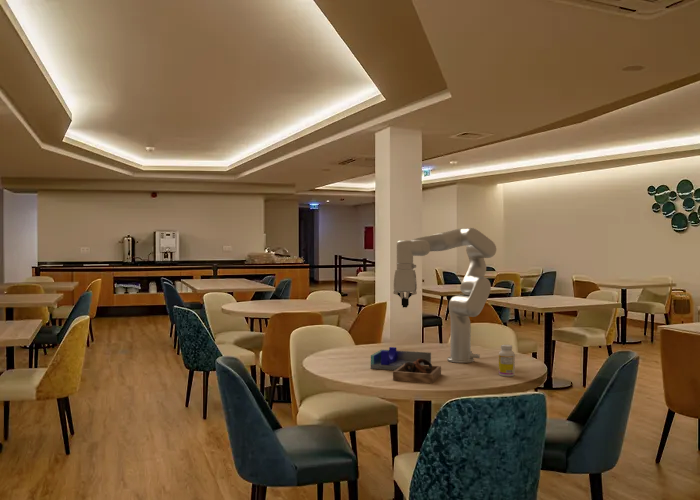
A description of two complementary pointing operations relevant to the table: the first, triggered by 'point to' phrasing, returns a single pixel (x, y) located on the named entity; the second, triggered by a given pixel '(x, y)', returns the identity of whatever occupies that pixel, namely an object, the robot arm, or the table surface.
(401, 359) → the grey teal tray
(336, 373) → the table surface
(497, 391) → the table surface
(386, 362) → the blue arch block
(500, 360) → the supplement bottle
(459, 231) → the robot arm
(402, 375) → the wooden tray
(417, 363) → the brown looped piece
